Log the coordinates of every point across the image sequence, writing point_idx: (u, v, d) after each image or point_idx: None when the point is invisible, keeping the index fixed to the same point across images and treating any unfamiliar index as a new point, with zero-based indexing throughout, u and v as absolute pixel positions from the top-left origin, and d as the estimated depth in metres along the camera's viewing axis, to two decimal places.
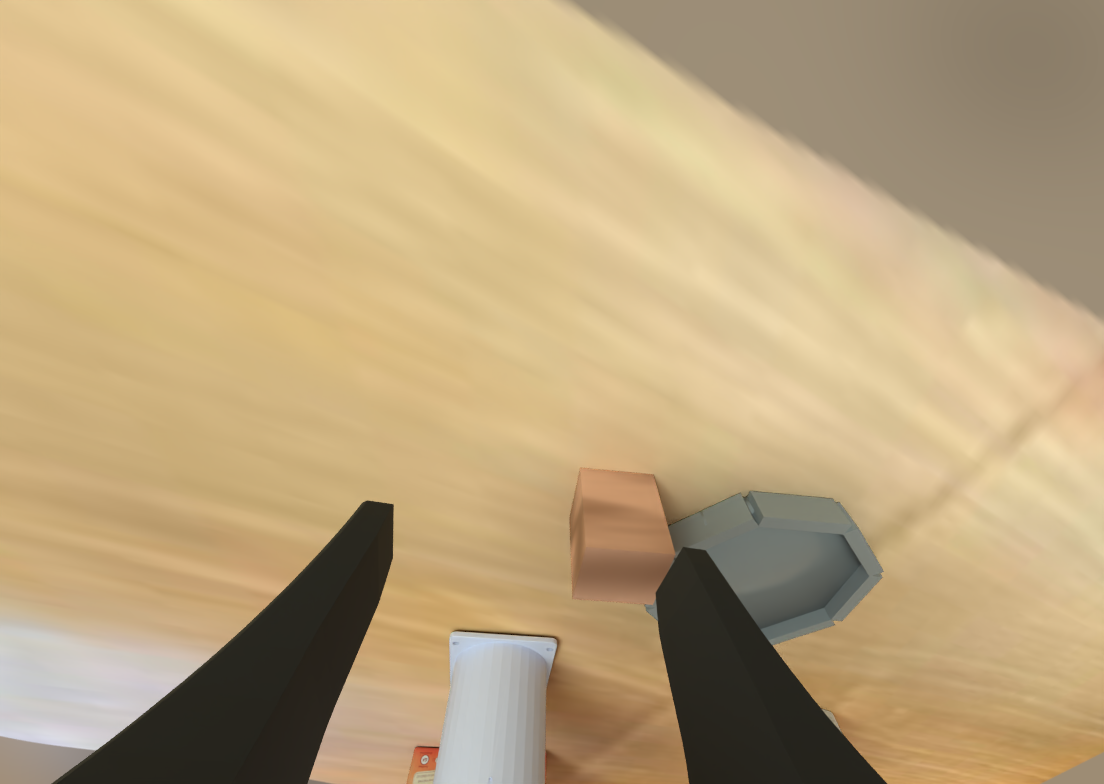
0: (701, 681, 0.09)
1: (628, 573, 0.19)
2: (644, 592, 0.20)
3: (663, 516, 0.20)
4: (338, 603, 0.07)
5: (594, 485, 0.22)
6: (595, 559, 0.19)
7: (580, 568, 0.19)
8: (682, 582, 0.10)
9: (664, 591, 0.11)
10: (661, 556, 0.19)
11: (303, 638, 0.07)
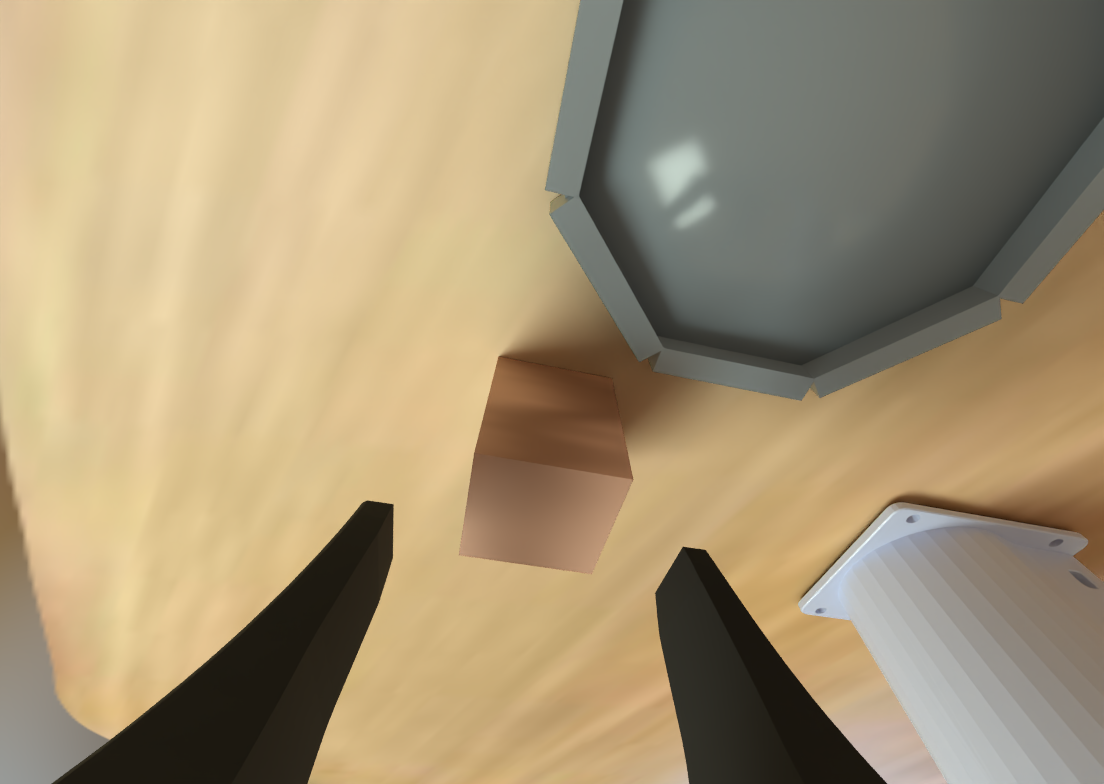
0: (701, 681, 0.09)
1: (529, 511, 0.11)
2: (588, 491, 0.11)
3: (486, 406, 0.12)
4: (338, 603, 0.07)
5: None
6: (488, 547, 0.12)
7: (514, 561, 0.12)
8: (682, 582, 0.10)
9: (664, 591, 0.11)
10: (481, 471, 0.10)
11: (303, 638, 0.07)
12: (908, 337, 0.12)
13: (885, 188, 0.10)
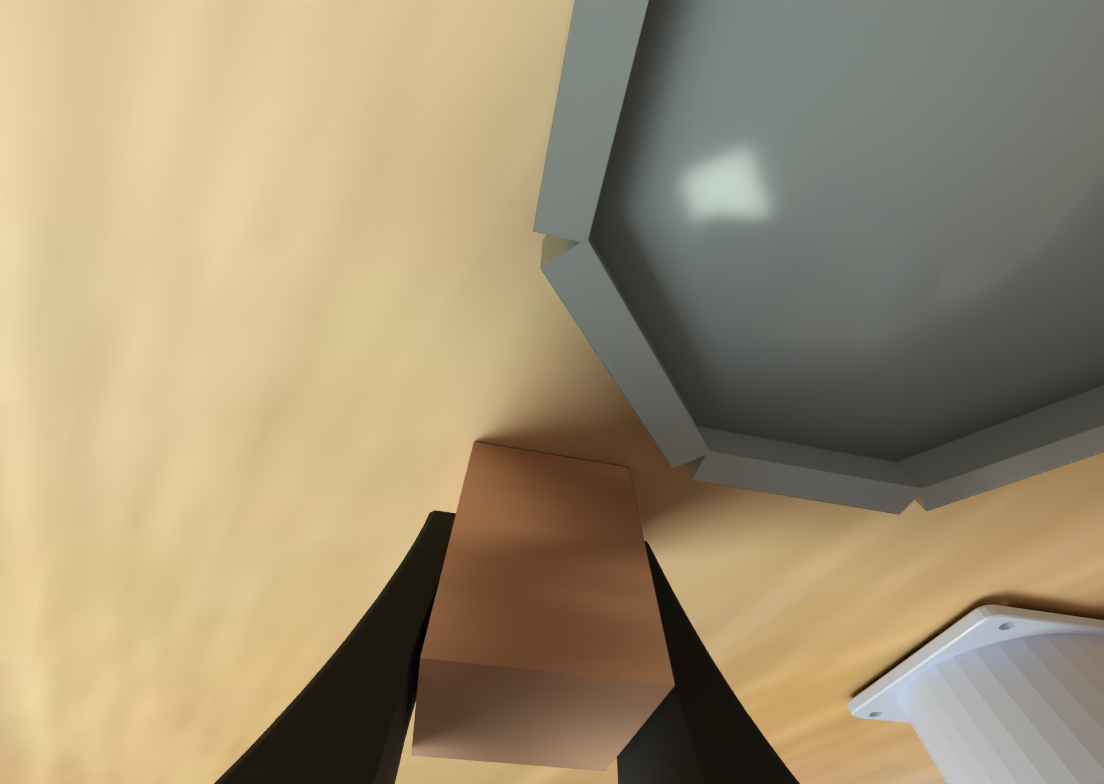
0: None
1: (511, 716, 0.07)
2: (604, 696, 0.07)
3: (449, 542, 0.08)
4: (427, 614, 0.07)
5: None
6: (454, 748, 0.08)
7: (492, 758, 0.09)
8: None
9: None
10: (433, 676, 0.07)
11: (401, 648, 0.07)
12: (1070, 436, 0.08)
13: (1068, 224, 0.07)
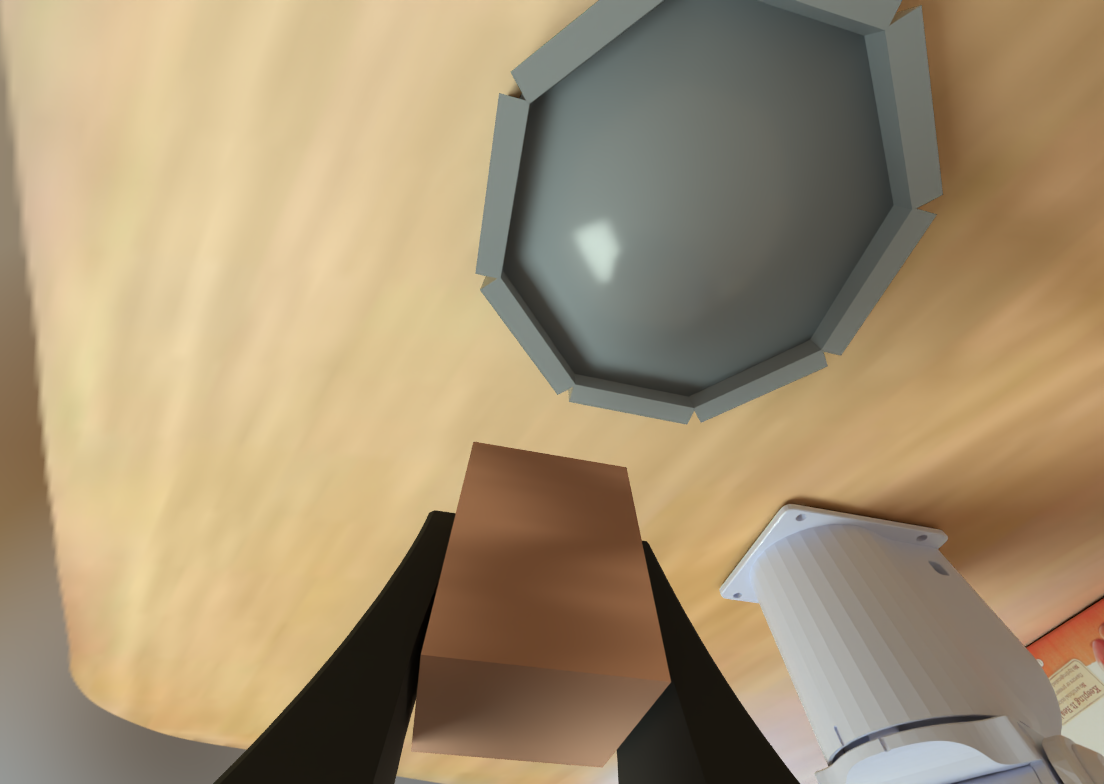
0: None
1: (510, 712, 0.07)
2: (601, 693, 0.07)
3: (449, 541, 0.08)
4: (427, 614, 0.07)
5: None
6: (453, 744, 0.08)
7: (491, 754, 0.09)
8: None
9: None
10: (434, 674, 0.07)
11: (400, 648, 0.07)
12: (761, 378, 0.16)
13: (731, 271, 0.14)
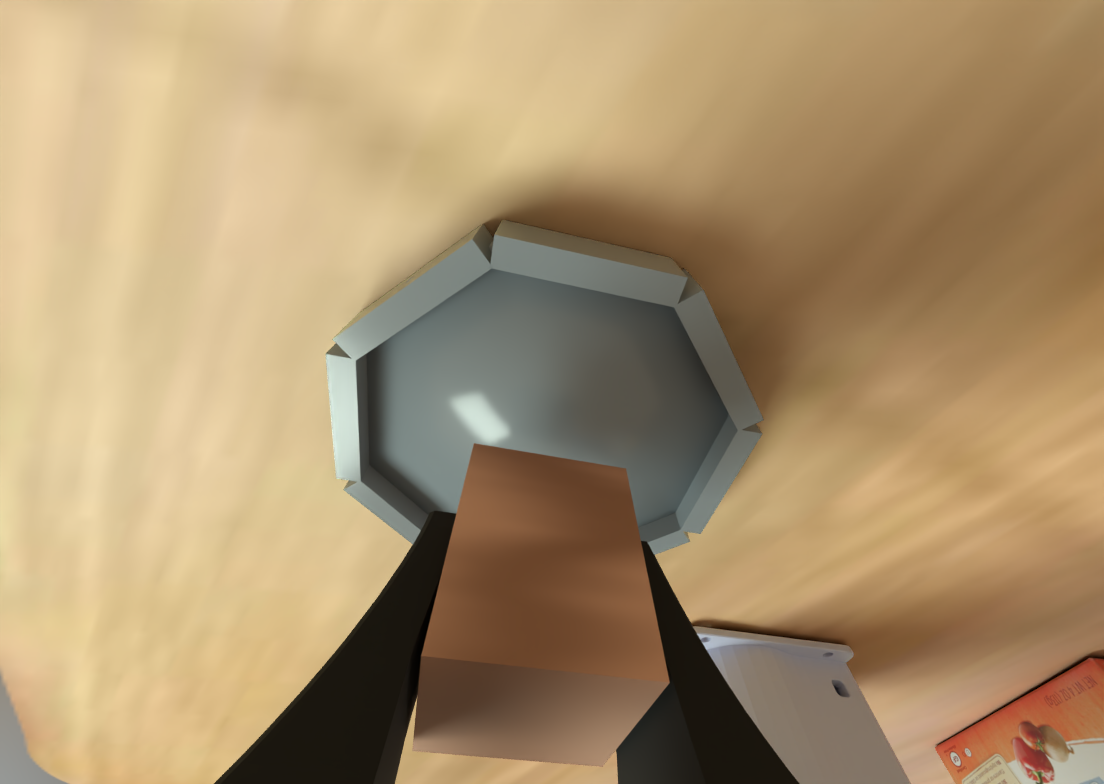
0: None
1: (510, 712, 0.08)
2: (600, 694, 0.07)
3: (449, 542, 0.08)
4: (427, 614, 0.07)
5: None
6: (454, 743, 0.08)
7: (492, 753, 0.09)
8: None
9: None
10: (434, 674, 0.07)
11: (401, 648, 0.07)
12: None
13: None
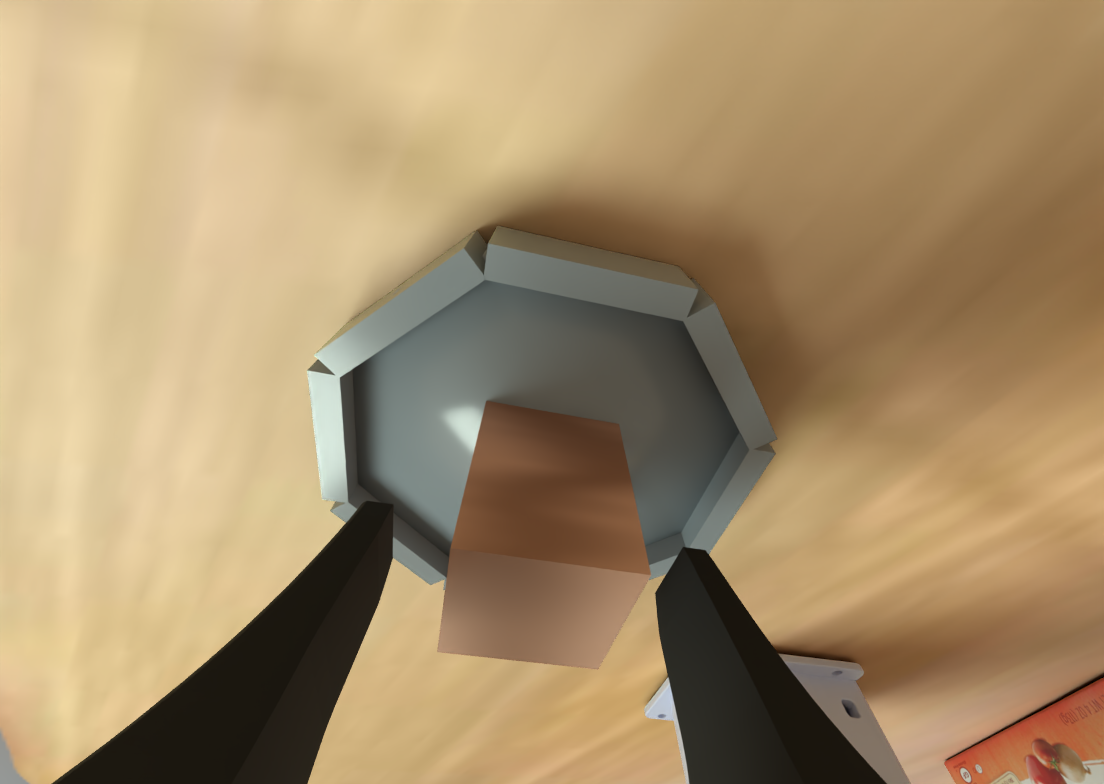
0: (701, 681, 0.09)
1: (520, 608, 0.09)
2: (595, 587, 0.09)
3: None
4: (338, 603, 0.07)
5: None
6: (473, 643, 0.10)
7: (504, 656, 0.10)
8: (682, 582, 0.10)
9: (664, 591, 0.11)
10: (460, 567, 0.08)
11: (303, 637, 0.07)
12: None
13: None
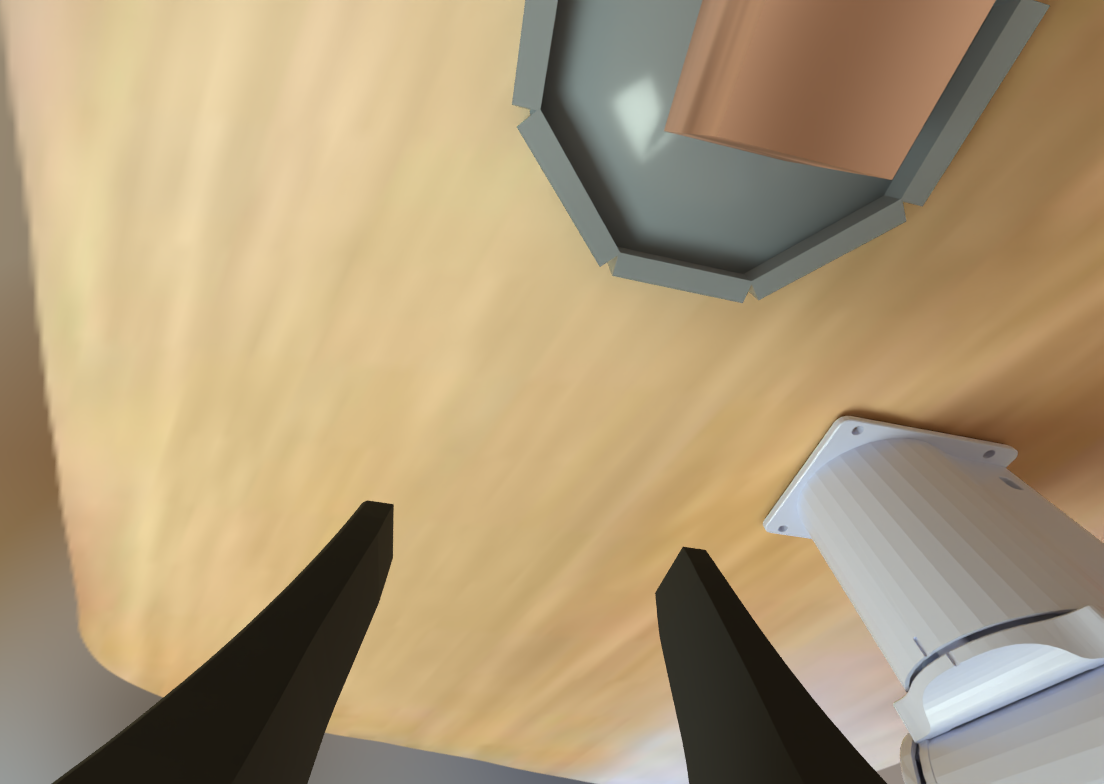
0: (701, 681, 0.09)
1: (854, 13, 0.08)
2: None
3: None
4: (338, 603, 0.07)
5: (682, 103, 0.11)
6: (766, 113, 0.08)
7: (789, 153, 0.09)
8: (682, 582, 0.10)
9: (664, 591, 0.11)
10: None
11: (303, 637, 0.07)
12: (829, 240, 0.14)
13: None
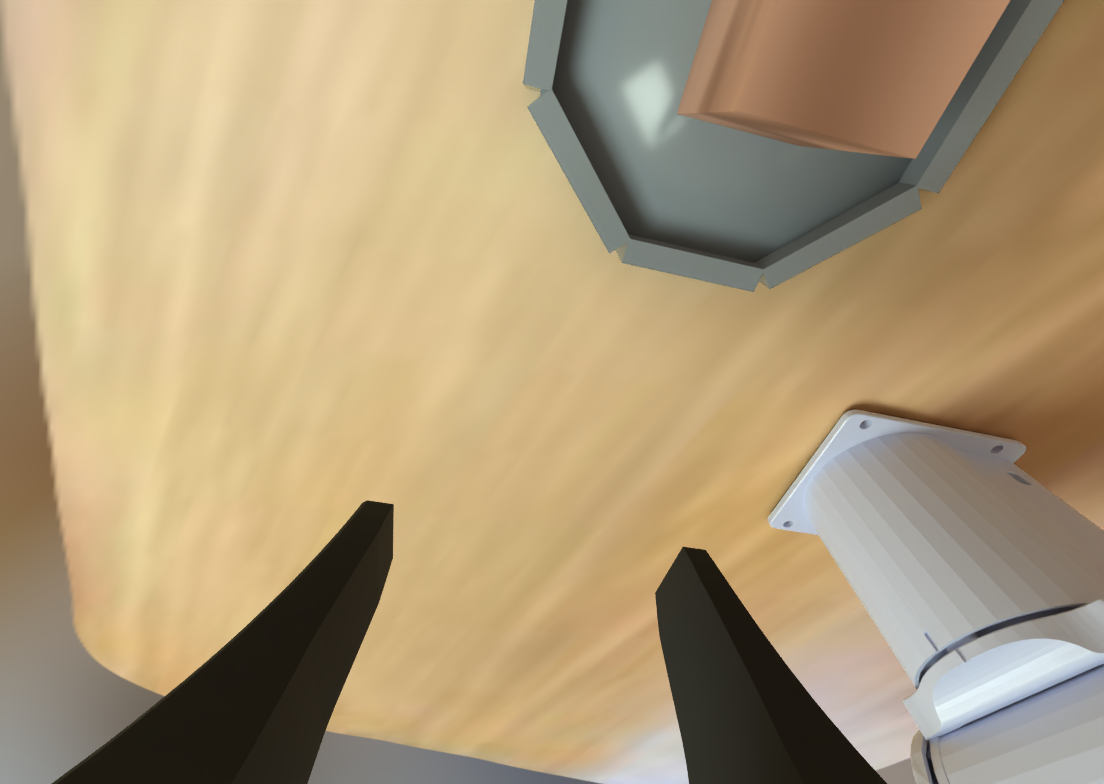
0: (701, 681, 0.09)
1: None
2: None
3: None
4: (338, 603, 0.07)
5: (697, 83, 0.11)
6: (789, 87, 0.08)
7: (811, 130, 0.09)
8: (682, 582, 0.10)
9: (664, 591, 0.11)
10: None
11: (302, 638, 0.07)
12: (843, 228, 0.14)
13: None
